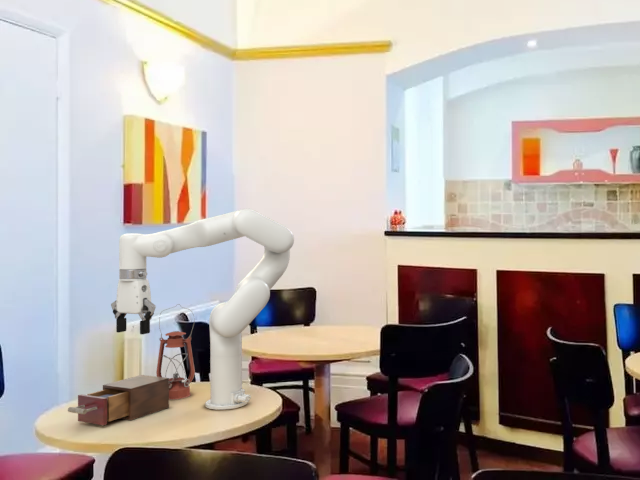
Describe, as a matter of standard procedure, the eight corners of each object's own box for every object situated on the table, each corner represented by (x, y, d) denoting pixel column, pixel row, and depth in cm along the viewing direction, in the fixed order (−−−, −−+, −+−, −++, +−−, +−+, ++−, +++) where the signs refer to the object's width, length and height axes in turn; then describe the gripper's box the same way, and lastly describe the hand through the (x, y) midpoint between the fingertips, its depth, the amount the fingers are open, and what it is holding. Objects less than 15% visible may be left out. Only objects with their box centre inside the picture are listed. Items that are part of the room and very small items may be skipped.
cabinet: (130, 420, 198) (130, 388, 198) (102, 415, 203) (102, 384, 203) (169, 407, 211) (168, 378, 211) (141, 403, 216) (141, 374, 216)
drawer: (88, 430, 186) (88, 403, 186) (62, 425, 190) (62, 399, 190) (142, 412, 202) (142, 387, 202) (117, 409, 207) (117, 384, 207)
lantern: (183, 390, 232) (183, 301, 233) (197, 396, 225) (196, 304, 226) (155, 395, 226) (155, 304, 226) (168, 401, 218) (167, 307, 219)
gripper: (163, 274, 204) (164, 332, 203) (122, 273, 212) (122, 329, 211) (144, 276, 197) (144, 336, 197) (102, 275, 205) (102, 333, 204)
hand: (133, 332), depth 204 cm, fingers open, 9 cm apart
